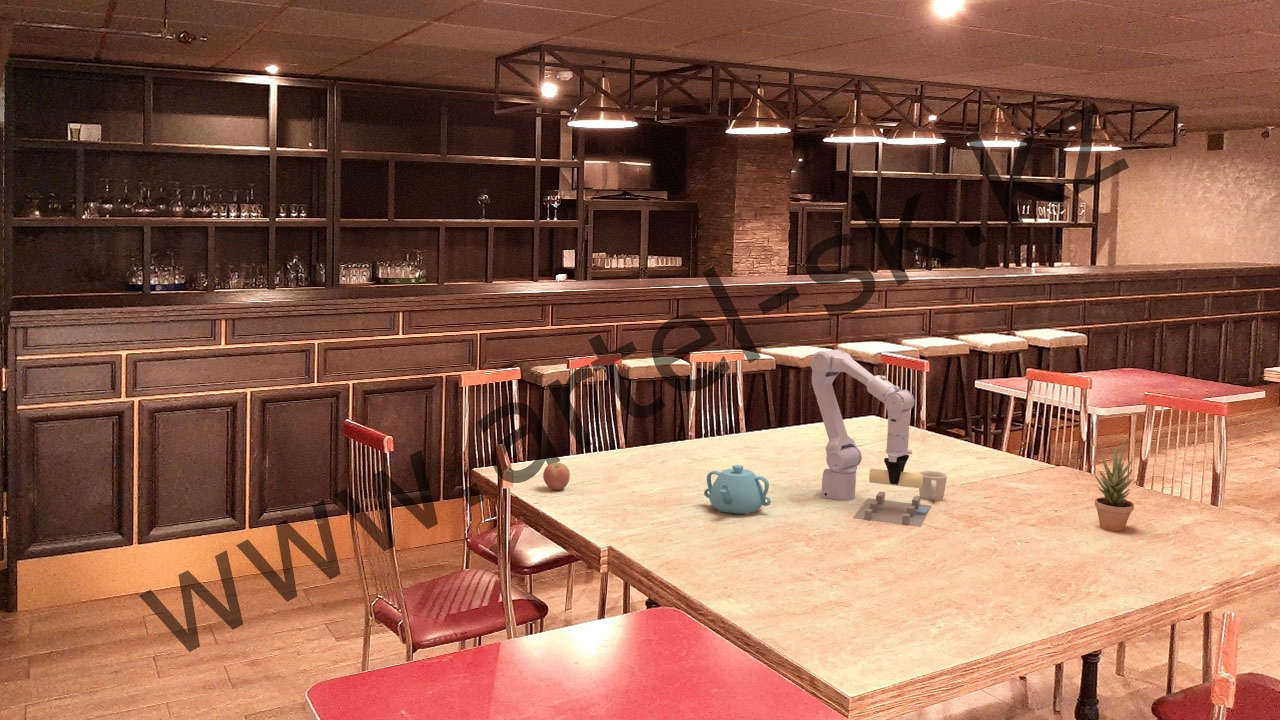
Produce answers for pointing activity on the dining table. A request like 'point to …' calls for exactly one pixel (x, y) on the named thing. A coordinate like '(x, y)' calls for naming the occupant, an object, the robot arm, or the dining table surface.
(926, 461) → the dining table surface
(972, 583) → the dining table surface
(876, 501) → the board
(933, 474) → the cup
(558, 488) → the apple
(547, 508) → the dining table surface
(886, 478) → the tan tapered cylinder
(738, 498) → the teapot
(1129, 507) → the potted plant
